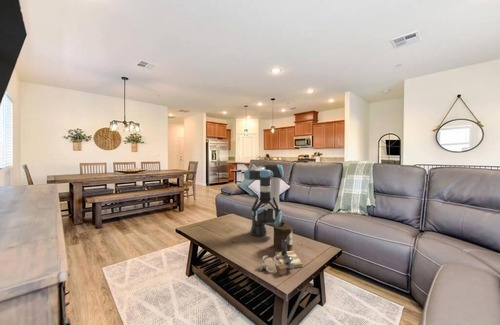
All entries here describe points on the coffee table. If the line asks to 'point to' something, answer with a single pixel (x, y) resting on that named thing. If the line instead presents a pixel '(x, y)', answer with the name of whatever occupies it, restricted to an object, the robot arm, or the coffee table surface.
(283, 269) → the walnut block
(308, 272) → the coffee table surface
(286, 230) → the wooden container
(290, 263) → the lever
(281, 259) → the board
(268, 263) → the beige animal figurine
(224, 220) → the coffee table surface
